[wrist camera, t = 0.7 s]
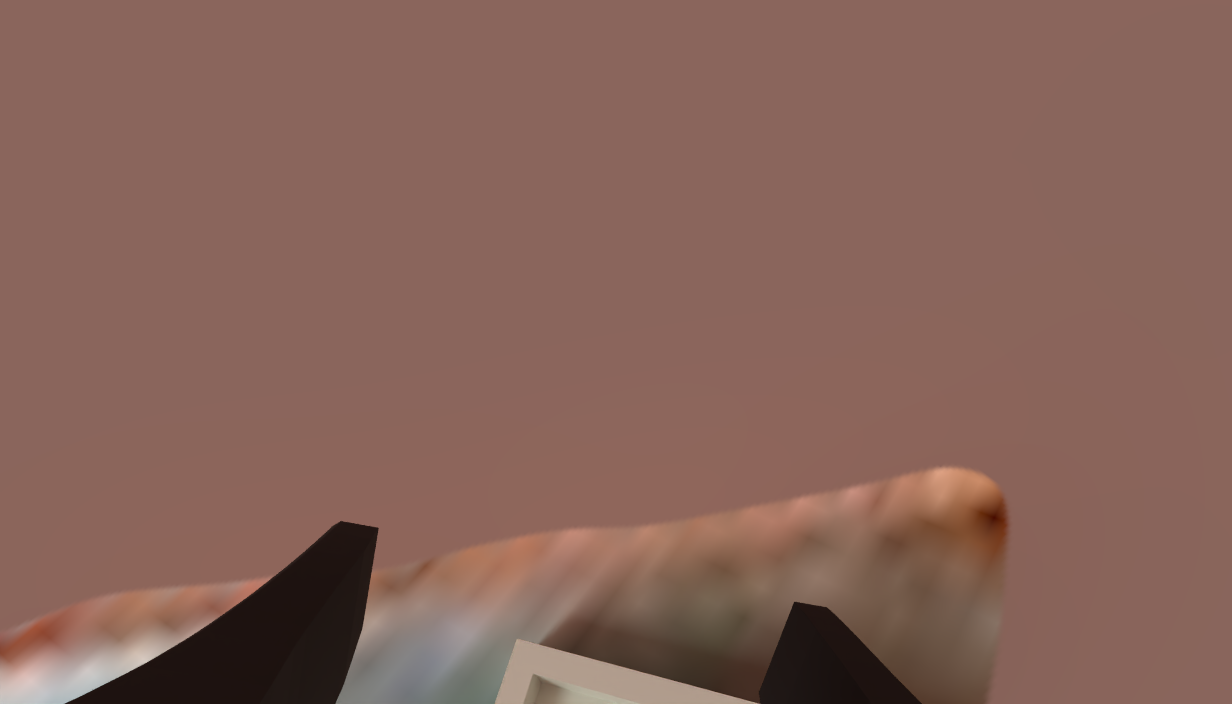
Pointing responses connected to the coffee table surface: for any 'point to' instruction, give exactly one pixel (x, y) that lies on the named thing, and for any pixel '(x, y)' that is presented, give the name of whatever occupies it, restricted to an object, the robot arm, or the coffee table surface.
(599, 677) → the tray
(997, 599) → the coffee table surface
